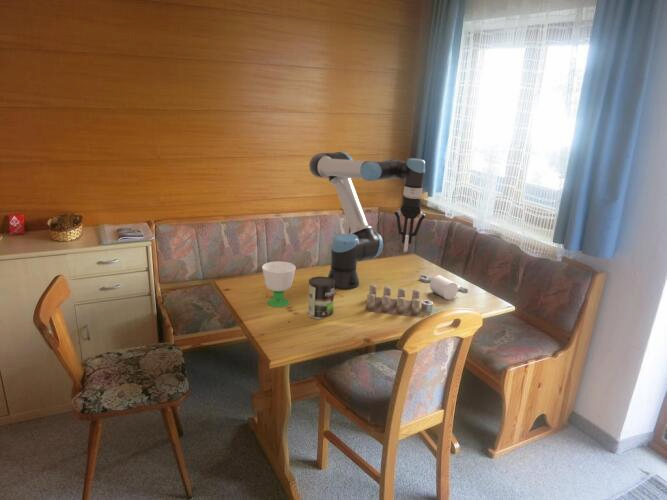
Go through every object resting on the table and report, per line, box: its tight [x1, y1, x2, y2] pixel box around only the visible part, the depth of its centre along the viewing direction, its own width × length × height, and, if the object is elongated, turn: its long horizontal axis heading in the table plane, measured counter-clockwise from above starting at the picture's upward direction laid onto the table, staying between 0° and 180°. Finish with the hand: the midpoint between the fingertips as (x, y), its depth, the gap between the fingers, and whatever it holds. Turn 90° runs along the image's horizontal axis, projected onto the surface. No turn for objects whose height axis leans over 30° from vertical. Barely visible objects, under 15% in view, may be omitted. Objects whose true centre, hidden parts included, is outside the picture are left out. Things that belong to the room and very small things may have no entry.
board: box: [364, 284, 421, 318], centre depth 200 cm, size 22×16×7 cm
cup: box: [261, 260, 297, 308], centre depth 199 cm, size 14×14×16 cm
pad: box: [426, 307, 442, 317], centre depth 199 cm, size 8×7×1 cm
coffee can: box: [307, 276, 336, 320], centre depth 191 cm, size 10×10×14 cm
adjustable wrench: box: [419, 274, 469, 293], centre depth 230 cm, size 25×6×2 cm, turn 45°
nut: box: [420, 299, 434, 314], centre depth 198 cm, size 4×5×4 cm
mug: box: [429, 274, 461, 301], centre depth 217 cm, size 12×10×8 cm
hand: (405, 250), depth 208 cm, fingers closed
